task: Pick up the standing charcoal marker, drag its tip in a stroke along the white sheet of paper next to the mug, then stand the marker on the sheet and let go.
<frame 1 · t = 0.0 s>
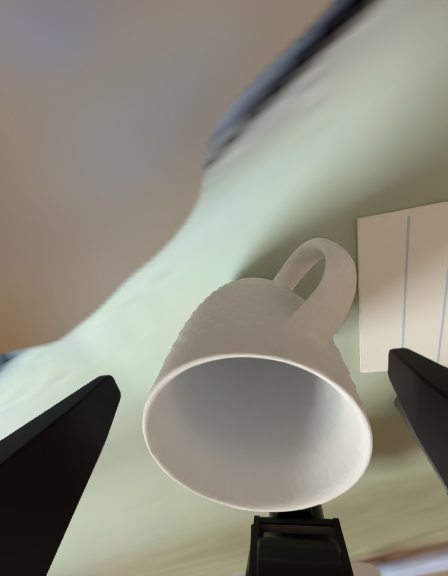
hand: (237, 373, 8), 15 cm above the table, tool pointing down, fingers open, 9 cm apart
paper: (429, 295, 21), on the table
marker: (408, 401, 25), on the table
mug: (260, 303, 23), on the table
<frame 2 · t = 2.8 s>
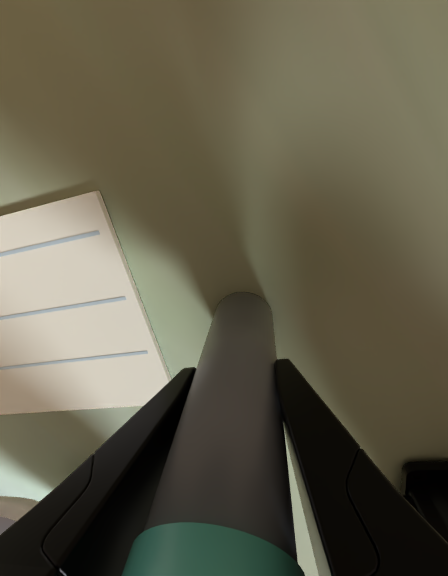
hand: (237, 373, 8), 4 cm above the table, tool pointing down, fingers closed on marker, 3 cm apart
paper: (18, 331, 13), on the table
marker: (243, 318, 11), on the table, touching gripper
mug: (103, 487, 19), on the table
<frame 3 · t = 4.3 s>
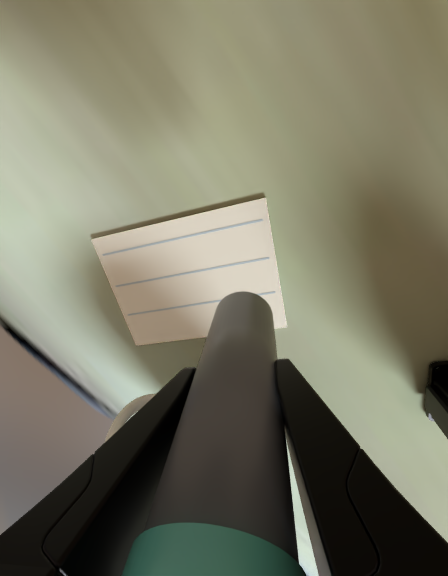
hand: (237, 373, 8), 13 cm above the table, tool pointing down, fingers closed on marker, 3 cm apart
paper: (191, 282, 22), on the table
marker: (243, 317, 11), point 10 cm above the table, touching gripper
mug: (216, 400, 27), on the table
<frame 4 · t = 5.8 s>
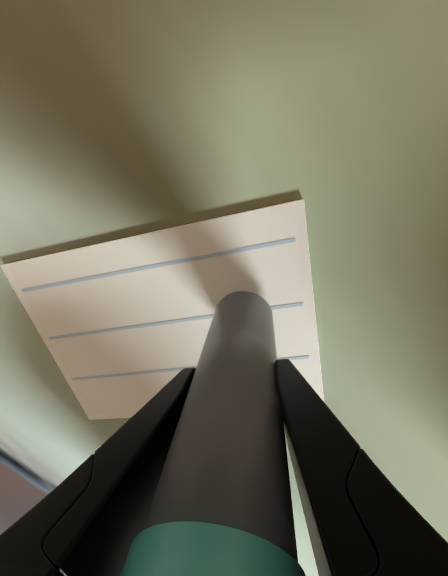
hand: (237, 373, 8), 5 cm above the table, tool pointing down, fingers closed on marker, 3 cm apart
paper: (169, 335, 13), on the table
marker: (243, 317, 11), point 1 cm above the table, touching gripper
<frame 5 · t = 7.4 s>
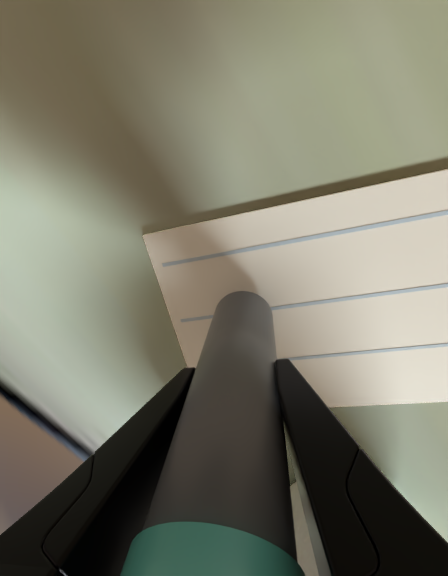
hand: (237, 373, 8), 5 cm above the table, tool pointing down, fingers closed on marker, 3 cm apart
paper: (325, 317, 12), on the table
marker: (243, 317, 11), point 1 cm above the table, touching gripper
mug: (319, 491, 17), on the table
when the fingers open (4 cm above the table, at t = 8.6 s): marker stays where it is, resting on paper.
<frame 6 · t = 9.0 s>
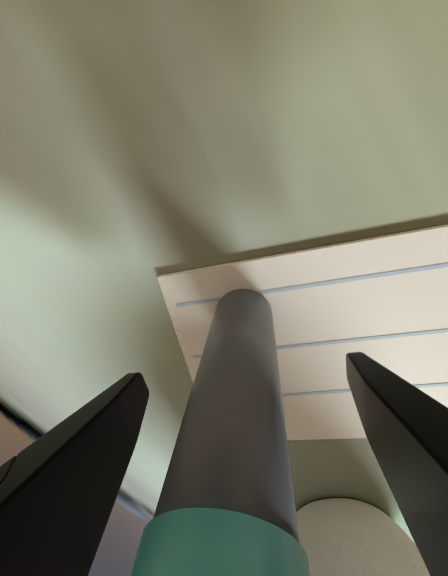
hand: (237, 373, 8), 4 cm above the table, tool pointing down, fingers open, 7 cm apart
paper: (336, 355, 12), on the table
marker: (243, 314, 11), resting on paper
mug: (326, 514, 18), on the table
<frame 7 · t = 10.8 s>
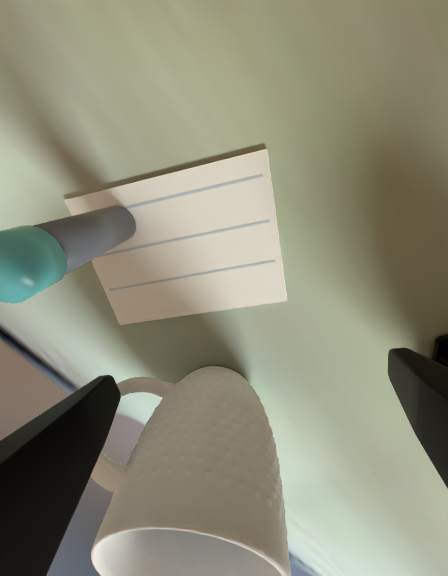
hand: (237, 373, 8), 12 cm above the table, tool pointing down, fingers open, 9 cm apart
paper: (181, 251, 20), on the table
marker: (119, 223, 19), resting on paper
mug: (208, 384, 25), on the table
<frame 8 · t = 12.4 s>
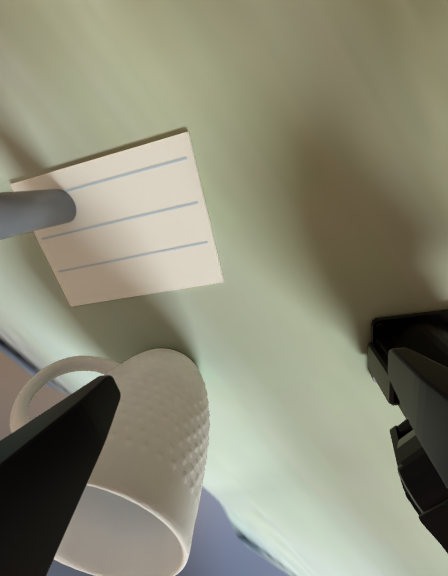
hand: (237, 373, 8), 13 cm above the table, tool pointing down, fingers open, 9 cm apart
paper: (121, 233, 20), on the table
marker: (60, 206, 20), resting on paper
mug: (160, 367, 26), on the table
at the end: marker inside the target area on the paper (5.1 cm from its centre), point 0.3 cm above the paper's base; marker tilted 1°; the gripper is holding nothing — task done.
